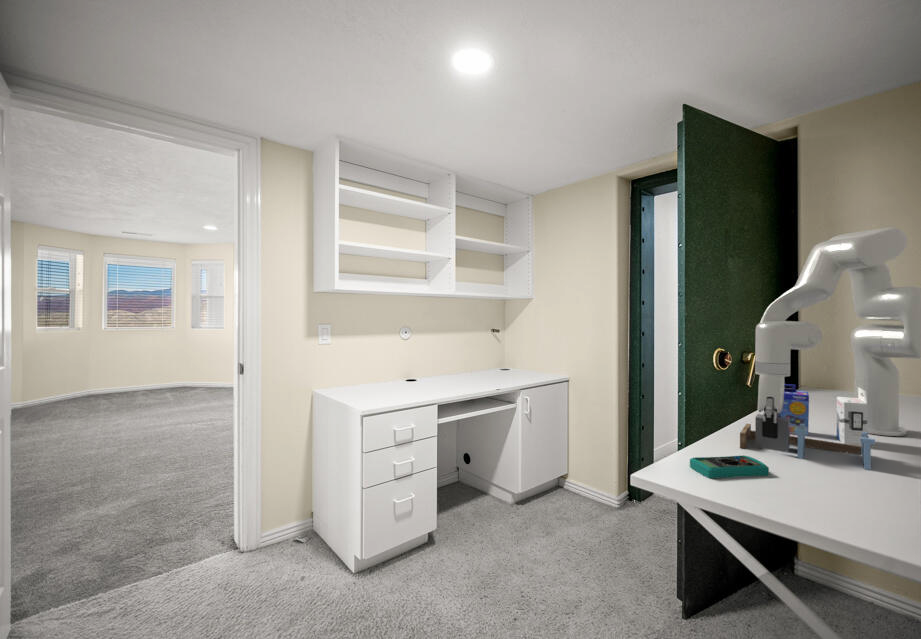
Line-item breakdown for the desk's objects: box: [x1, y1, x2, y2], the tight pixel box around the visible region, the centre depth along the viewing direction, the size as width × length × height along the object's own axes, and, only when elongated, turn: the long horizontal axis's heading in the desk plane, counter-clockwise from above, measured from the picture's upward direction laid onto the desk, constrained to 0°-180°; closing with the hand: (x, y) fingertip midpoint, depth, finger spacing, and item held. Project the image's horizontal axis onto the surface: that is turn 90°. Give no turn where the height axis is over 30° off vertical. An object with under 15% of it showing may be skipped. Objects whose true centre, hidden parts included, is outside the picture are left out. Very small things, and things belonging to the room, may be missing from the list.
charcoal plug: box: [754, 413, 791, 453], centre depth 113 cm, size 4×7×8 cm, turn 49°
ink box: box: [836, 387, 867, 446], centre depth 116 cm, size 8×5×15 cm, turn 149°
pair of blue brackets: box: [794, 424, 876, 471], centre depth 105 cm, size 12×14×7 cm
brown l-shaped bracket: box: [739, 423, 861, 456], centre depth 110 cm, size 13×25×4 cm, turn 49°
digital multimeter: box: [689, 455, 770, 480], centre depth 98 cm, size 7×15×3 cm, turn 95°
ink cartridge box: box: [779, 383, 810, 437], centre depth 127 cm, size 10×6×14 cm, turn 54°
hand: (771, 433), depth 113 cm, fingers open, 9 cm apart
